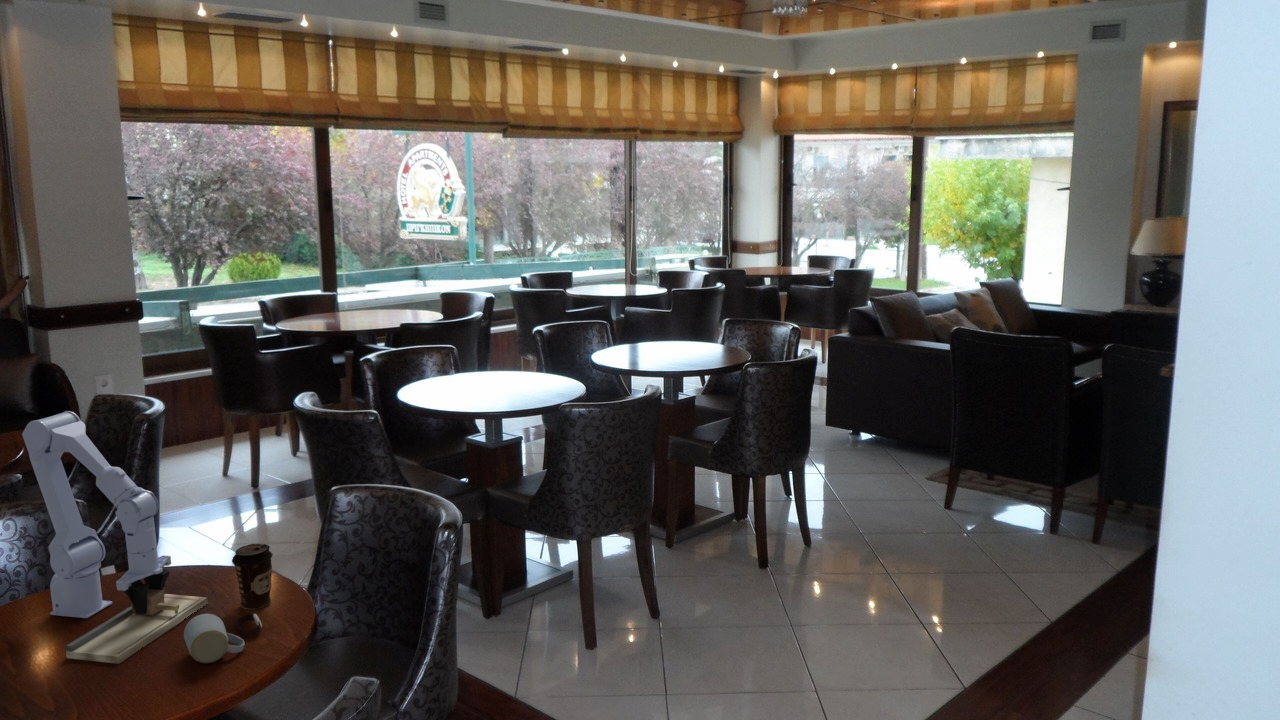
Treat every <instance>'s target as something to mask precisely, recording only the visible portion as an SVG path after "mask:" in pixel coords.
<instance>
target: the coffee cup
mask: <svg viewBox="0 0 1280 720" xmlns="http://www.w3.org/2000/svg"><path fill="white" fill-rule="evenodd" d="M270 547H271V546H270V545H267V543H266V544H265V543H264V544H263V543H250V544H247V545H243V546H241V547H239V548H237V549H236V550H235V553H234V554H235V555H233V557H232V560H231V562H232V564H233V566H234V567H235V574H236V576H237V578H236V579H237V581H238V590H239V592H238V593H239V594H240V607H241V608H243V610H249V611H250V610H257V609H261V608H264V607H266V606H269V604H271V602H272V600H271V597H270V595H271V591H272V575H273V565H272V558H273V554H274V553H272V551H270Z"/></svg>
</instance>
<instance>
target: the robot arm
mask: <svg viewBox="0 0 1280 720" xmlns="http://www.w3.org/2000/svg"><path fill="white" fill-rule="evenodd" d="M86 432H87V426H86V424H85V422H83V420H81V418H80V417H79V415H77V414H76V413H75V412H74V411H71V410H65V411H63V412H61V413H57V414H54V415H52V416H51V415H50V416H47V417H44V418H41V419H40V418H39V419H36V420H31V421H30V422H28V423H27V425H26V426H25V428H24V430H23V432H22V434H21V435H22V438H23V440H24V445H25V447H26V449H27V452H28V456H29V460H30V463H31V466H32V469H33V473H34V475H35V478H36V480H37V483H38V485H39V489H40V491H41V494H42V497H43V500H44V504H45V506H46V509H47V512H48V514H49V517H50V521H51V523H52V526H53V529H54V532H55V536H54V537H53V539H52V541H51V542H50V544H49V545H48V547H47V548H48V551H49V555H50V556H49V557H50V558H49V559H50V560H49V564H50V567H51V569H52V571H53V572H54V575H52V578H51V580H50V585H49V589H50V597H51V603H52V611H51V612H50V613H49V614H50V615H51V616H60V617H70V618H78V619H79V618H82V619H88V618H90V617H92V616H94V615H95V614H97V613H98V612H100V611H102V610H103V609H105V608H107V607H109V606H111V605H112V604H113V601H111V600H103V593H102V587H101V586H102V585H101V577H100V570H99V569H100V568H101V567H102V563H101V562H102V561H103V560H104V559H105V557H106V553H107V552H106V548H105V545H104V543H103V542H102V540H101V539H100V538H99V536H98V534H97V531H96V530H95V529H93V528H91V527H88V526H86V525H84V522H83V519H82V516H81V514H80V511H79V508H78V505H77V503H76V500H75V496H74V493H73V491H72V488H71V485H70V483H69V479H68V476H67V473H66V470H65V467H64V464H63V462H62V459H61V458H62V456H63V454H64V453H70V454H71V455H72V456H73V457H74V458H75V459H77V460H78V461H79V462H80V463H81V464H82V465H83V466H84V467H86V469H87V470H88V471H89V472H91V473H92V474H93V475H94V477H96V479H95V485H96V487H97V488H98V489H99V490H100V491H101V492H102V494H103V495H105V497H106V498H107V499H108V501H110V502H111V503H112V505H114V506H115V508H116V509H117V510H115V512H114V513H115V516H116V518H117V520H118V522H120V524H121V529H122V530H123V533H124V534H125V535H124V536H125V537H124V538H125V545H126V553H127V554H126V555H127V561H128V562H127V563H128V570H127V571H126V572H125V573H124V574H123V575H122V577H120V579H117V580H116V581H115V585H116V590H117V591H122V592H124V593H125V595H126V596H127V597H128V598H129V600H130V603H131V602H132V604H133V607H134V609H135V611H136V613H138V614H145V613H146V611H147V592H148V589H154V590H163V589H165V588H164V587H165V585H166V582H167V579H168V578H169V576H170V570H169V569H164V567H169V566H170V565H172V559H171V558H172V557H171V555H161V556H159V554H158V548H157V547H158V546H157V534H156V527H155V526H156V525H155V519H154V518H155V517H154V516H155V515H156V514H157V513H158V511H159V507H160V506H159V503H160V502H159V500H158V498H157V496H155V493H153V492H152V491H150V490H146V489H144V488H143V487H139V486H138V485H137V484H136V483H135V482H134V481H133V480H132V479H131V478H130V477H129V475H127V473H126V472H125V471H124V470H123V468H121V467H119V466H112V465H110V463H109V462H108V461H107V460H106V458H105V457H104V455H103V454H102V453H101V452H100V450H99V449H98V447H96V445H95V444H94V443H93V442H92V440H91V439H90V438H89V437H88V435H87V434H86ZM142 580H143V581H144V583H143V581H142Z"/></svg>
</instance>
